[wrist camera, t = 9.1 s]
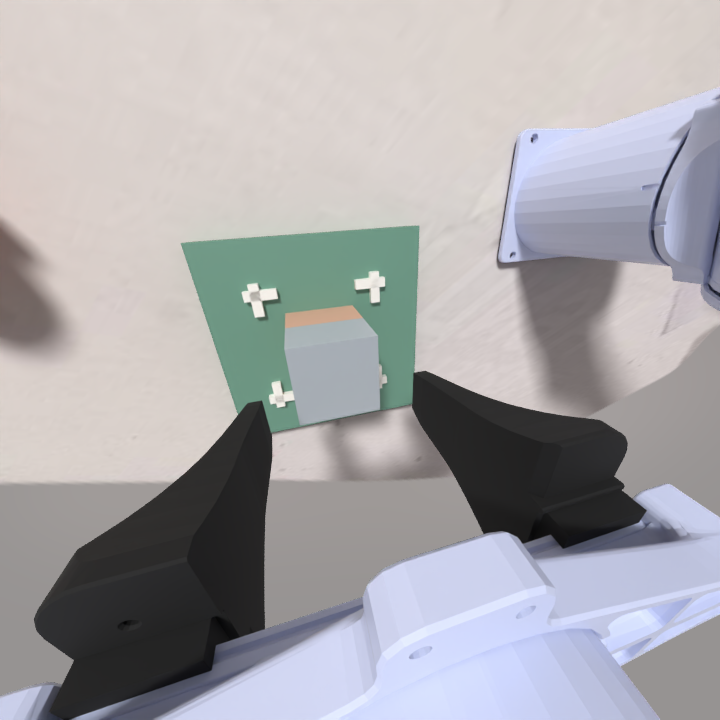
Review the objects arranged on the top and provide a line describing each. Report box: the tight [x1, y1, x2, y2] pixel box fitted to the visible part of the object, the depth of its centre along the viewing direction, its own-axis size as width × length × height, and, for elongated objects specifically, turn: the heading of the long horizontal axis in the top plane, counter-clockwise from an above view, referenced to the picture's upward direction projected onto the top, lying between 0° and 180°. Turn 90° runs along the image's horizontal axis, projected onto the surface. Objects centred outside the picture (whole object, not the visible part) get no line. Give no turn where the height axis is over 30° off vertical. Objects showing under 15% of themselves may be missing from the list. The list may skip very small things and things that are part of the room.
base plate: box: [181, 226, 419, 433], centre depth 19 cm, size 14×14×2 cm
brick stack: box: [284, 305, 380, 426], centre depth 16 cm, size 4×4×6 cm
